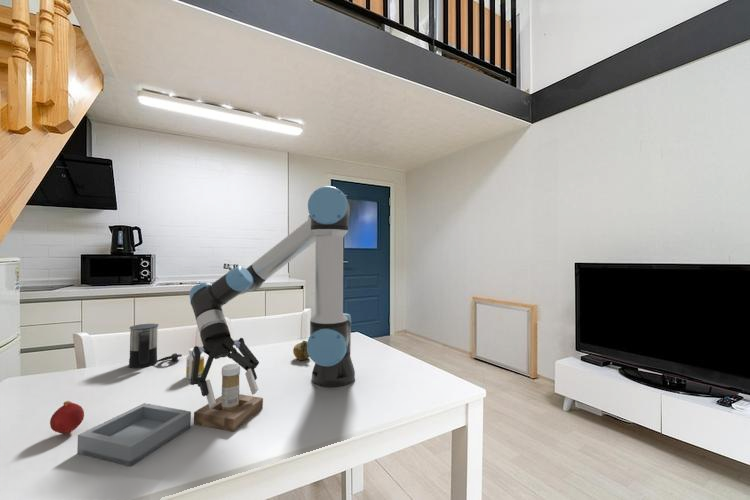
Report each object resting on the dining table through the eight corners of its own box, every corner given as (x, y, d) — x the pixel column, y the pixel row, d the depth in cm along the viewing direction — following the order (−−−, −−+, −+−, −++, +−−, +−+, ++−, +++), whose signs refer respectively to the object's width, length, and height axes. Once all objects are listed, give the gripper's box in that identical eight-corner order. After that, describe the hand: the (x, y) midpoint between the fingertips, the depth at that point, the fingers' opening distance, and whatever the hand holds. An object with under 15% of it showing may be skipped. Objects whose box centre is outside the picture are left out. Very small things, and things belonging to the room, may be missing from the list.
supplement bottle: (207, 373, 113) (207, 346, 113) (197, 379, 108) (197, 351, 108) (193, 373, 114) (193, 346, 114) (182, 379, 108) (183, 350, 108)
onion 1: (65, 427, 78) (66, 395, 78) (90, 426, 78) (91, 394, 78) (42, 441, 72) (43, 406, 72) (69, 440, 72) (70, 406, 73)
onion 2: (311, 355, 136) (312, 336, 136) (311, 361, 128) (311, 342, 128) (293, 356, 134) (294, 337, 134) (292, 362, 126) (292, 342, 127)
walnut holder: (262, 408, 89) (262, 397, 89) (233, 431, 78) (233, 419, 78) (226, 402, 92) (227, 392, 92) (193, 424, 81) (194, 412, 81)
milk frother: (124, 364, 121) (125, 326, 121) (169, 354, 134) (170, 319, 134) (138, 373, 112) (139, 332, 113) (185, 361, 125) (186, 324, 125)
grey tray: (190, 427, 79) (190, 411, 79) (130, 466, 64) (131, 446, 64) (143, 418, 83) (144, 403, 83) (77, 453, 68) (77, 434, 68)
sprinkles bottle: (239, 410, 88) (240, 362, 88) (238, 418, 83) (239, 368, 84) (221, 413, 86) (222, 364, 86) (219, 421, 82) (220, 370, 82)
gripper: (246, 329, 104) (269, 392, 93) (165, 343, 87) (182, 421, 76) (254, 316, 100) (279, 379, 90) (172, 327, 83) (190, 407, 73)
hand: (235, 398), depth 83 cm, fingers open, 10 cm apart
